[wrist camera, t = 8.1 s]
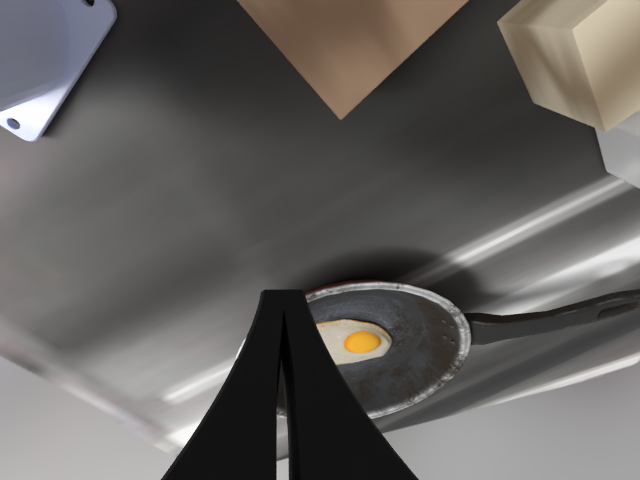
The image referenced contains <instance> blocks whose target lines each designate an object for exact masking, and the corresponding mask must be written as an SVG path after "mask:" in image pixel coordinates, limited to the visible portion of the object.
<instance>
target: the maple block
mask: <svg viewBox="0 0 640 480" xmlns="http://www.w3.org/2000/svg"><path fill="white" fill-rule="evenodd" d="M497 24H498V26H499V28H500V31H501V33H502V35H503V37H504V39H505V42H506V44H507V46H508V48H509V50H510V53H511V55H512V57H513V59H514V61H515V64H516V66H517V68H518V70H519V72H520V74H521V77H522V79H523V81H524V83H525V85H526V88H527V90H528V92H529V94H530V96H531V99H532V101H533V103H535V104H537V105H540V106H542V107H545V108H547V109H550V110H552V111H555V112H557V113H560V114H562V115H565V116H567V117H569V118H572V119H574V120H577V121H579V122H582V123H584V124H587V125H589V126H592V127H594V128H597V129H599V130H602V131H604V132H607V131H608V130H610V129H611V128H613V127H614V126H616V125H617V124H619V123H620V122H622V121H623V120H625V119H626V118H628V117H629V116H631V115H632V114H634V113H635V112H637V111H638V110H640V0H521V1H520V2H519V3H518V4H516V5H515V6H514V7H513V8H512V9H511V10H510V11H509V12H507V13H506V14H505V15H504V16H503V17H502V18H501V19H500V20H498V21H497Z"/></svg>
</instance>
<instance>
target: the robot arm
mask: <svg viewBox="0 0 640 480" xmlns="http://www.w3.org/2000/svg"><path fill="white" fill-rule="evenodd" d="M116 18H117V11H116V8H115V6H114V4H113V3H112V2H111V0H95V2H94V5H93V6H91V5H89V4H88V3H87V2H86V0H0V125H1V126H3V127H4V128H6V129H7V130H9V131H11V132H12V133H14V134H15V135H17V136H19V137H20V138H22V139H24V140H26V141H36V140H37V139H39V138H40V137H41V136H42V135H43V133H44V132H45V130H46V128H47V127H48V125H49V124H50V122H51V121H52V119H53V117H54V116H55V114H56V113H57V111H58V110H59V108H60V107H61V105H62V103H63V102H64V100H65V99H66V97H67V96H68V94H69V92H70V91H71V89H72V88H73V86H74V85H75V83H76V82H77V80H78V78H79V77H80V75H81V74H82V72H83V71H84V69H85V68H86V66H87V64H88V63H89V61H90V60H91V58H92V57H93V55H94V53H95V52H96V50H97V49H98V47H99V46H100V44H101V43H102V41H103V39H104V38H105V36H106V35H107V33H108V32H109V30H110V29H111V27H112V25H113V24H114V22H115V21H116ZM12 118H13V119H15V120H17V121H18V122H19V124H20V127H19V126H17V125H16V124H15V123H14V122H13V120H12ZM281 361H282V372H283V383H284V394H285V405H286V415H287V426H288V445H289V480H419V479H418V478H417V477H416V476H415V475H414V474H413V473H412V471H411V470H410V469H409V468H408V467H407V465H406V464H405V463H404V462H403V460H402V459H401V458H400V457H399V456H398V454H397V453H396V452H395V451H394V449H393V448H392V447H391V446H390V444H389V443H388V442H387V440H386V439H385V438H384V436H383V435H382V434H381V432H380V431H379V430H378V428H377V427H376V426H375V424H374V423H373V422H372V420H371V419H370V418H369V416H368V415H367V413H366V412H365V410H364V409H363V408H362V406H361V405H360V403H359V402H358V400H357V399H356V397H355V396H354V394H353V393H352V391H351V389H350V388H349V386H348V385H347V383H346V381H345V380H344V378H343V376H342V375H341V373H340V371H339V369H338V368H337V366H336V364H335V362H334V360H333V359H332V357H331V355H330V353H329V351H328V349H327V347H326V345H325V343H324V341H323V339H322V337H321V335H320V333H319V330H318V328H317V326H316V324H315V321H314V319H313V316H312V314H311V311H310V308H309V305H308V302H307V299H306V295H305V292H304V291H303V290H263V291H262V292H261V296H260V301H259V305H258V308H257V311H256V314H255V317H254V320H253V323H252V325H251V328H250V330H249V333H248V335H247V337H246V340H245V342H244V345H243V347H242V349H241V351H240V353H239V355H238V357H237V359H236V361H235V363H234V365H233V367H232V369H231V371H230V373H229V375H228V377H227V379H226V381H225V382H224V384H223V386H222V388H221V390H220V391H219V393H218V395H217V396H216V398H215V400H214V402H213V403H212V405H211V407H210V408H209V410H208V411H207V413H206V415H205V416H204V418H203V419H202V421H201V422H200V424H199V426H198V427H197V429H196V430H195V432H194V433H193V435H192V436H191V438H190V439H189V441H188V442H187V444H186V445H185V447H184V448H183V450H182V451H181V452H180V454H179V455H178V457H177V458H176V459H175V461H174V462H173V464H172V465H171V466H170V468H169V469H168V471H167V472H166V473H165V475H164V476H163V478H162V479H161V480H276V429H277V402H278V391H279V380H280V369H281Z"/></svg>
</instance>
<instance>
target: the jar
mask: <svg viewBox="0 0 640 480" xmlns="http://www.w3.org/2000/svg"><path fill="white" fill-rule="evenodd" d="M595 131H596V135H597V139H598V142H599V146H600V150H601V154H602V158H603V161H604V165H605V169H606V171H607V172H608V173H610V174H612V175H614V176H616V177H618V178H620V179H622V180H624V181H626V182H627V183H629V184H631V185H633V186H635V187H637V188H639V189H640V110H638V111H637V112H635V113H634V114H632V115H631V116H629V117H628V118H626V119H625V120H623V121H622V122H620V123H619V124H617V125H616V126H614V127H613V128H611V129H610V130H608V131H607V132H604V131H602V130H599V129H597V128H595Z"/></svg>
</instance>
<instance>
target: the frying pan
mask: <svg viewBox="0 0 640 480" xmlns="http://www.w3.org/2000/svg"><path fill="white" fill-rule="evenodd" d="M305 295H306V299H307V302H308V305H309V308H310V311H311V314H312V316H313V319H314V321H315V324H316V326H317V328H318V330H319V333H320V335H321V337H322V339H323V341H324V343H325V345H326V347H327V349H328V351H329V353H330V355H331V357H332V359H333V360H334V362H335V364H336V366H337V368H338V369H339V371H340V373H341V375H342V376H343V378H344V380H345V381H346V383H347V385H348V386H349V388H350V389H351V391H352V393H353V394H354V396H355V397H356V399H357V400H358V402H359V403H360V405H361V406H362V408H363V409H364V410H365V412H366V413H367V415H368V416H369V418H370V419H372V418H377V417H380V416H384V415H387V414H391V413H394V412H396V411H399V410H401V409H404V408H407V407H409V406H411V405H413V404H415V403H417V402H419V401H421V400H423V399H425V398H427V397H428V396H430V395H431V394H433V393H434V392H436V391H437V390H439V389H440V388H441V387H443V386H444V385H445V384H446V383H447V382H448V381H449V380H450V379H452V378H453V377H454V375H455V374H456V373H457V372H458V370H459V369H460V368H461V367H462V365H463V364H464V361H465V359H466V357H467V355H468V353H469V350H470V345H484V344H489V343H493V342H497V341H501V340H505V339H511V338H517V337H523V336H529V335H535V334H541V333H547V332H552V331H556V330H561V329H565V328H569V327H574V326H578V325H583V324H587V323H591V322H596V321H600V320H605V319H609V318H612V317H616V316H619V315H622V314H624V313H627V312H630V311H633V310H636V309H639V308H640V289H637V290H630V291H622V292H616V293H611V294H606V295H603V296H600V297H596V298H593V299H589V300H585V301H582V302H578V303H574V304H571V305H567V306H564V307H560V308H556V309H553V310H549V311H544V312H534V313H524V314H513V315H503V316H501V315H493V314H485V313H465V314H463V313H462V311H461V310H459V309H458V308H457V307H456V306H455V305H454V304H453V303H452V302H450V301H449V300H448V299H446V298H444V297H442V296H440V295H438V294H436V293H434V292H432V291H429V290H427V289H423V288H420V287H416V286H412V285H409V284H405V283H396V282H392V281H383V280H372V279H368V280H351V281H344V282H339V283H334V284H329V285H325V286H322V287H320V288H317V289H314V290H311V291H308V292H306V293H305ZM245 340H246V338H245V339H244V341H243V342H242V345H241V347H240V349H239V351H238V353H237V356H236V359H237V357H238V355H239V353H240V351H241V349H242V347H243V345H244V342H245ZM277 416H280V417H283V418H286V419H287V415H286V405H285V394H284V383H283V372H282V361H281V369H280V380H279V391H278V402H277Z"/></svg>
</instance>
